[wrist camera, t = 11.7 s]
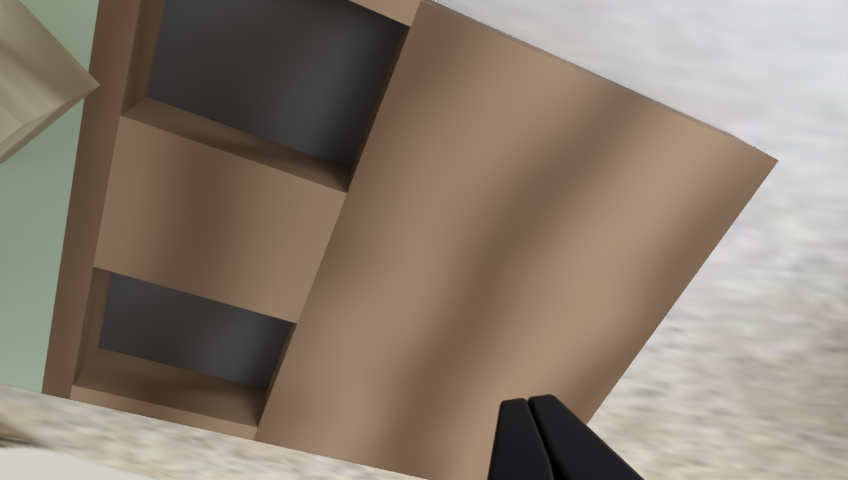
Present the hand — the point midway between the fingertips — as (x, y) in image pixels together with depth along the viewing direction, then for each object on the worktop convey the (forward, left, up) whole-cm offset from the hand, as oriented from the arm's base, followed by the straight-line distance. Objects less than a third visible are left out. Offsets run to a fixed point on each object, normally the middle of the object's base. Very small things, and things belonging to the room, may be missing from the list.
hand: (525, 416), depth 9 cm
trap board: (+4, +3, -13) cm, 14 cm away
